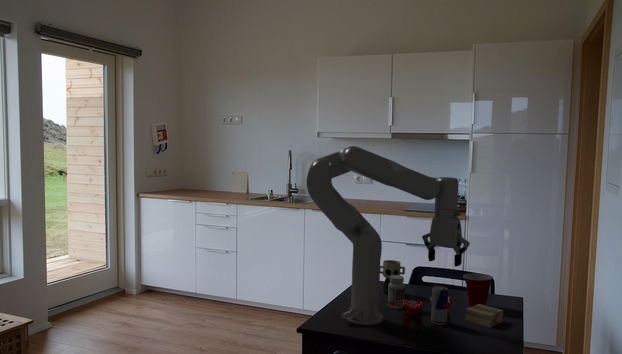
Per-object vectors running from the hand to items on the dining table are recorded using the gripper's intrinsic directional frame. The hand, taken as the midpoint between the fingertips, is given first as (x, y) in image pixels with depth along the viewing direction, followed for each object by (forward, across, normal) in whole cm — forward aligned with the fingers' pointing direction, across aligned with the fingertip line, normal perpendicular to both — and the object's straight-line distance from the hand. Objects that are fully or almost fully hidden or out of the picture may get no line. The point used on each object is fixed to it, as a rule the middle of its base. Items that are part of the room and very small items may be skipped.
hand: (444, 263), depth 163 cm
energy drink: (+21, 0, +2) cm, 21 cm away
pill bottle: (+20, +20, -2) cm, 29 cm away
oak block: (+20, -9, -12) cm, 25 cm away
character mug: (+20, +32, -14) cm, 40 cm away
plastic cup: (+21, 0, -26) cm, 33 cm away
